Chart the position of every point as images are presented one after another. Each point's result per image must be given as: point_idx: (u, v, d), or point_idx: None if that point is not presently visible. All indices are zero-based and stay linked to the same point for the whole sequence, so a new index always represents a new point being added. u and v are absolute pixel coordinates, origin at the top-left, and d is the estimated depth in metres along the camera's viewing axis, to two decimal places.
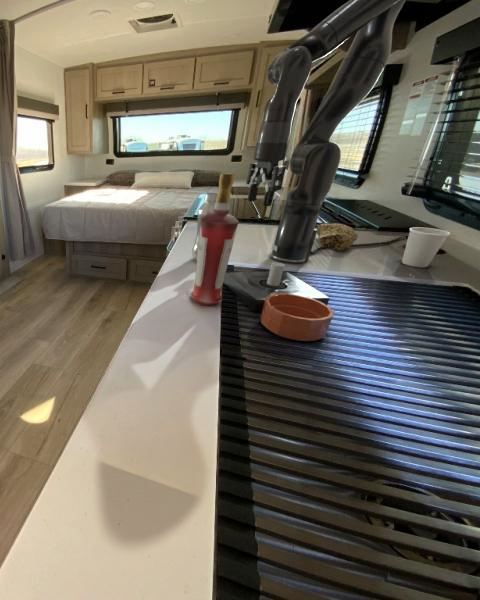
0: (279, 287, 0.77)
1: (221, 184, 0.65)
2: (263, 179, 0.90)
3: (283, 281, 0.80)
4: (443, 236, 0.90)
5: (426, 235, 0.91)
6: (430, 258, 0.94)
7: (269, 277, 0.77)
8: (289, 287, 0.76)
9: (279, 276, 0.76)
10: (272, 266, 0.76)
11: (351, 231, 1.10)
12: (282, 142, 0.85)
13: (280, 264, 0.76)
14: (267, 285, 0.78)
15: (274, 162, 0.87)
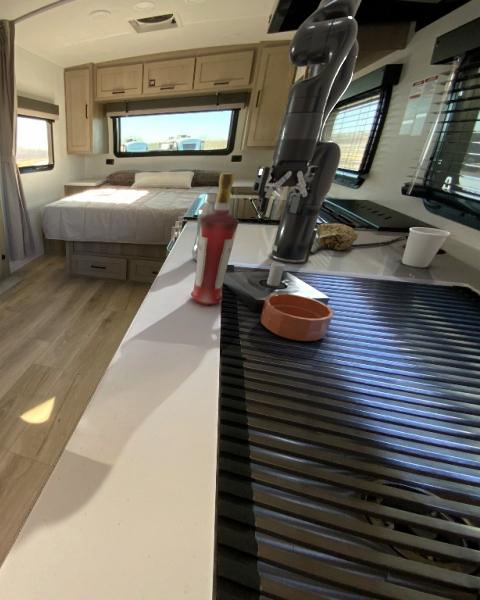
0: (279, 287, 0.77)
1: (221, 184, 0.65)
2: None
3: (283, 281, 0.80)
4: (443, 236, 0.90)
5: (426, 235, 0.91)
6: (430, 258, 0.94)
7: (269, 277, 0.77)
8: (289, 287, 0.76)
9: (279, 276, 0.76)
10: (272, 266, 0.76)
11: (351, 231, 1.10)
12: (283, 139, 0.70)
13: (280, 264, 0.76)
14: (267, 285, 0.78)
15: (274, 162, 0.73)
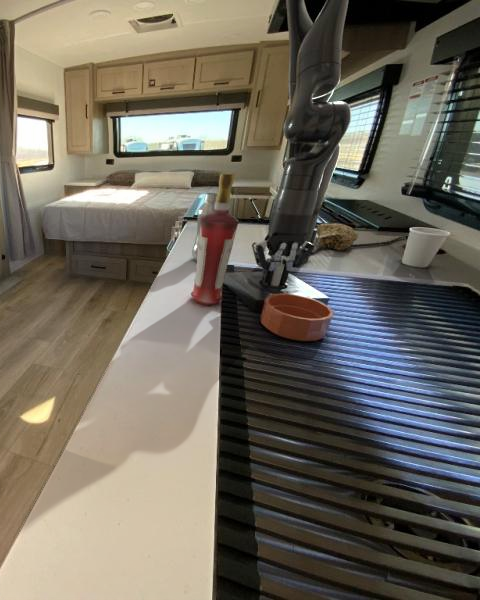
0: (279, 287, 0.77)
1: (221, 184, 0.65)
2: None
3: None
4: (443, 236, 0.90)
5: (426, 235, 0.91)
6: (430, 258, 0.94)
7: None
8: (289, 287, 0.76)
9: (279, 276, 0.76)
10: None
11: (351, 231, 1.10)
12: (277, 212, 0.70)
13: (280, 264, 0.76)
14: (267, 285, 0.78)
15: (269, 233, 0.73)
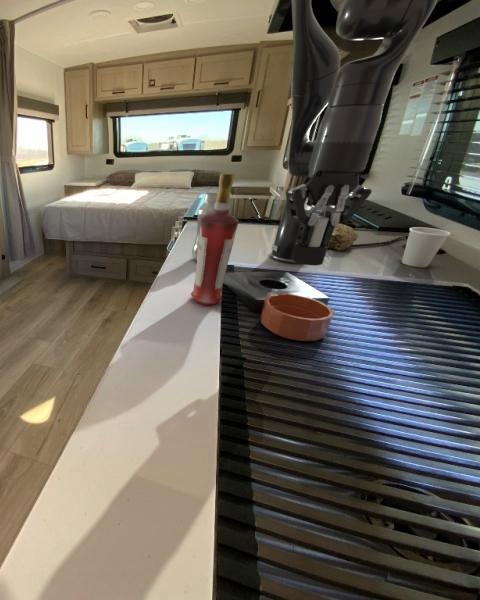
0: (321, 248, 0.58)
1: (221, 184, 0.65)
2: None
3: (283, 281, 0.80)
4: (443, 236, 0.90)
5: (426, 235, 0.91)
6: (430, 258, 0.94)
7: None
8: (289, 287, 0.76)
9: (321, 233, 0.58)
10: None
11: (351, 231, 1.10)
12: (323, 142, 0.52)
13: (322, 217, 0.58)
14: (304, 246, 0.59)
15: (310, 173, 0.55)
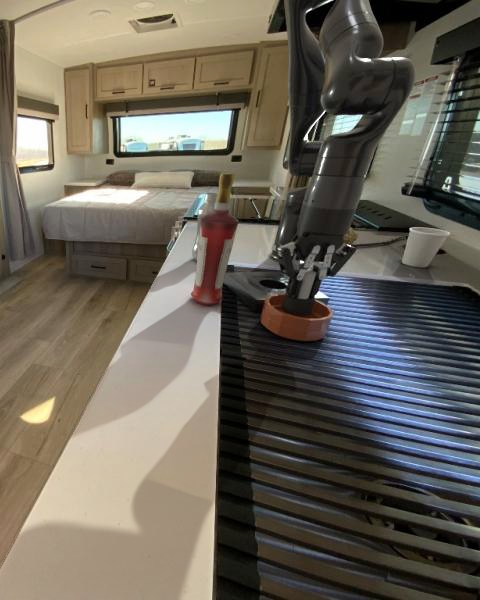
0: (309, 300, 0.61)
1: (221, 184, 0.65)
2: None
3: (283, 281, 0.80)
4: (443, 236, 0.90)
5: (426, 235, 0.91)
6: (430, 258, 0.94)
7: None
8: None
9: (309, 287, 0.61)
10: None
11: (351, 231, 1.10)
12: (310, 206, 0.55)
13: (310, 272, 0.61)
14: (293, 298, 0.62)
15: (298, 232, 0.58)
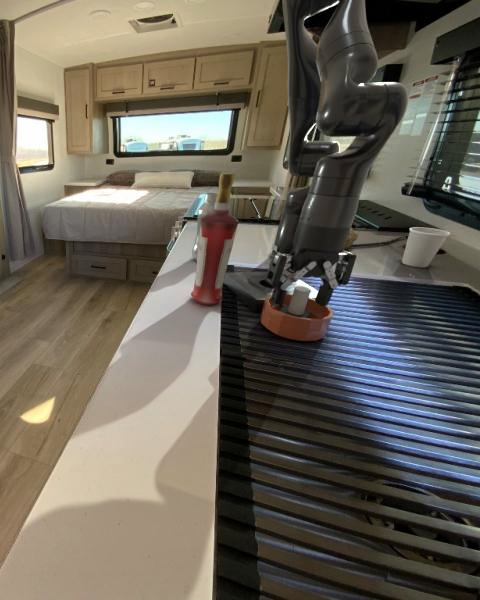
0: (304, 316, 0.63)
1: (221, 184, 0.65)
2: None
3: (283, 281, 0.80)
4: (443, 236, 0.90)
5: (426, 235, 0.91)
6: (430, 258, 0.94)
7: (291, 304, 0.64)
8: (289, 287, 0.76)
9: (304, 303, 0.62)
10: (295, 291, 0.62)
11: (351, 231, 1.10)
12: (306, 223, 0.56)
13: (305, 289, 0.62)
14: (289, 314, 0.64)
15: (294, 249, 0.59)
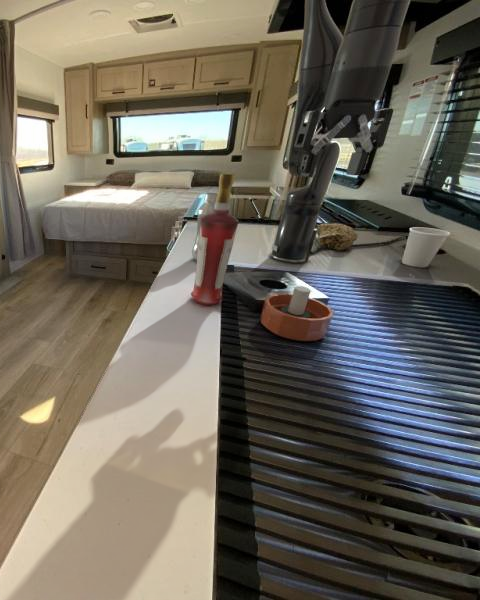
0: (304, 316, 0.63)
1: (221, 184, 0.65)
2: None
3: (283, 281, 0.80)
4: (443, 236, 0.90)
5: (426, 235, 0.91)
6: (430, 258, 0.94)
7: (291, 304, 0.64)
8: (289, 287, 0.76)
9: (304, 303, 0.62)
10: (295, 291, 0.62)
11: (351, 231, 1.10)
12: (341, 70, 0.52)
13: (305, 289, 0.62)
14: (289, 314, 0.64)
15: (327, 105, 0.55)
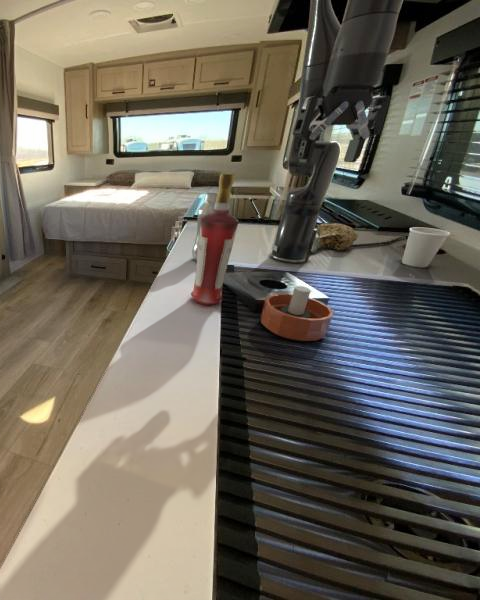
0: (304, 316, 0.63)
1: (221, 184, 0.65)
2: None
3: (283, 281, 0.80)
4: (443, 236, 0.90)
5: (426, 235, 0.91)
6: (430, 258, 0.94)
7: (291, 304, 0.64)
8: (289, 287, 0.76)
9: (304, 303, 0.62)
10: (295, 291, 0.62)
11: (351, 231, 1.10)
12: (339, 56, 0.53)
13: (305, 289, 0.62)
14: (289, 314, 0.64)
15: (325, 91, 0.56)
